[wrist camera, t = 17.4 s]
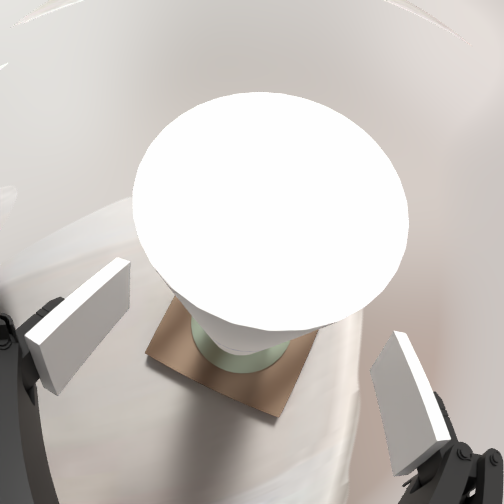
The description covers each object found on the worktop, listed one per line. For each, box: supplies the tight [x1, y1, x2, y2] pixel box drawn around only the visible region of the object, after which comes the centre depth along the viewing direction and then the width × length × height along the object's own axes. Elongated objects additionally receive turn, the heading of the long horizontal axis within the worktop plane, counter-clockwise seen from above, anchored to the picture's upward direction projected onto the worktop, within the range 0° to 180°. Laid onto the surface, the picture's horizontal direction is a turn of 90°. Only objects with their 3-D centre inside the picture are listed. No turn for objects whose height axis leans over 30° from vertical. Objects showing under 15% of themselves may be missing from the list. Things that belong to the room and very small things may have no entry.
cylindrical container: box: [133, 92, 409, 355], centre depth 18 cm, size 7×7×25 cm
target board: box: [145, 295, 318, 418], centre depth 31 cm, size 16×16×2 cm
